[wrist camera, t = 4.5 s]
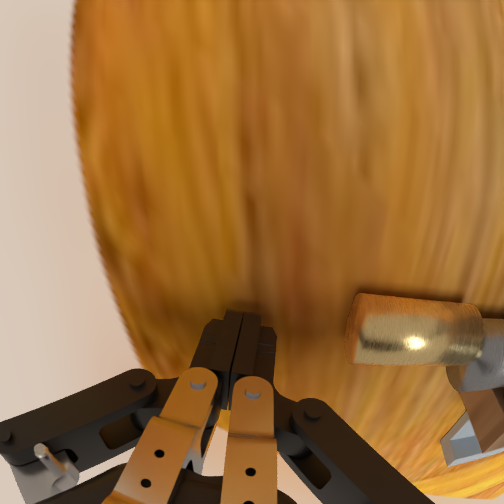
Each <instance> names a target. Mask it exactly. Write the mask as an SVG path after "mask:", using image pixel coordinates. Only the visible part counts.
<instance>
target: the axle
mask: <svg viewBox="0 0 504 504" xmlns="http://www.w3.org/2000/svg"><path fill="white" fill-rule="evenodd" d="M482 320H483V339H482V344H481V347H480V349H479V352H478V353H477V355H476V357H475V358H474V359H473V360H472V361H471V362H470V363H468V364H466V365H451V366H446V371H447V376H448V379H449V382H450V384H451V385H452V387H453V388H454V389H456V390H457V391H459V392H469V391H477V390H485V389H492V388H499V387H504V319H494V318H482Z"/></svg>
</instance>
